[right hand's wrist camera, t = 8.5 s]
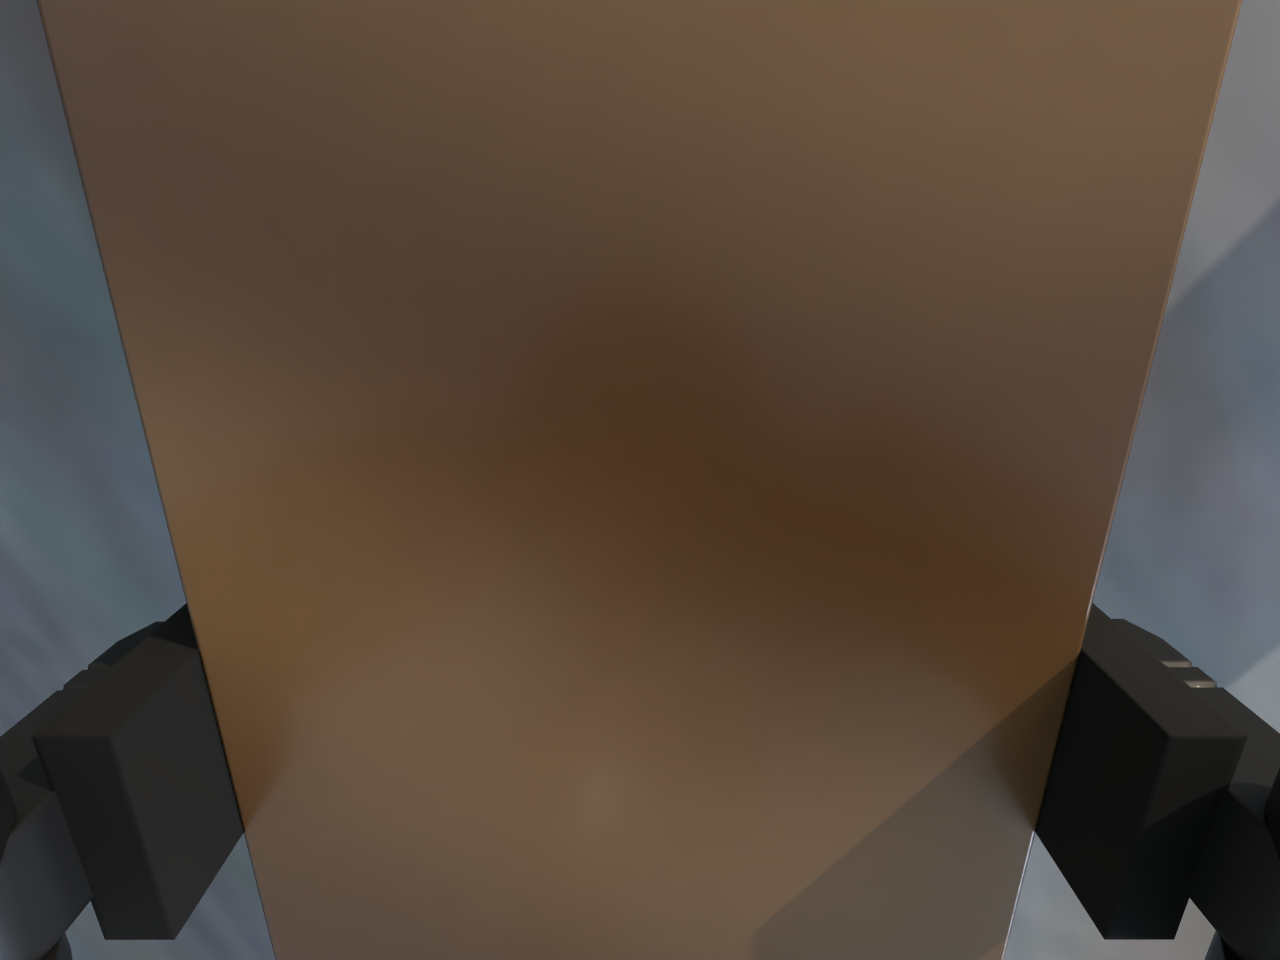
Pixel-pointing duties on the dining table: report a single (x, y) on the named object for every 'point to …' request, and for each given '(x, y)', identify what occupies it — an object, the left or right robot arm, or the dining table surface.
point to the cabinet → (639, 440)
